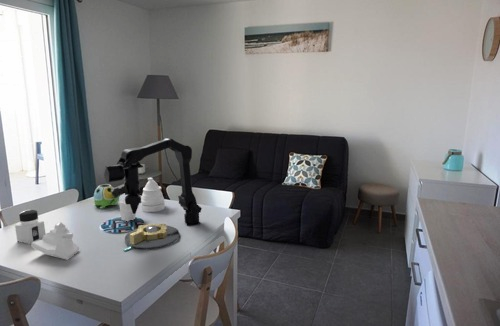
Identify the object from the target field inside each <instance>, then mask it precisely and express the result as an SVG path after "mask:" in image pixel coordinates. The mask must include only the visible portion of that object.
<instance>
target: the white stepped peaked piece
mask: <svg viewBox="0 0 500 326" xmlns="http://www.w3.org/2000/svg"><path fill="white" fill-rule="evenodd" d="M73 237H74V234H73V233H71V232H70V230H69V229H68V227H67V226H66V225H65V224H64V223H63V222H61V221H60V222H59V223H56V224H55V226H53V227H52V228H51V229H50V230H49V232H46V233H45V235H44V236H43V238H42V239H40V240H38V241H35V242H32V243H31V244H30V248H33V249H34V250H36V251H39V252H41V253H42V254H45V255H46V256H52V257H54V258H55V257H56V258H58V259H61V260H67V261H68V259H69V258H70V259H71V258H72V257H73V256H75V255H76V254H77V253H78V252H79V251H80V246H79V245H77V244H76V243H74V241H73ZM74 254H75V255H74ZM70 259H69V260H70Z"/></svg>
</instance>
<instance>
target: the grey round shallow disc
mask: <svg viewBox="0 0 500 326" xmlns="http://www.w3.org/2000/svg"><path fill="white" fill-rule="evenodd" d="M166 228H167V237H165V238H160V239H159V238H158V239H155V240H143V241H141V242H139V243H137V244H135V245H134V244H130V234H131V233H134V232H136V231H137V229H138V227H137V228H136V229H133V230H131V231H129V232H128V233H126V235H125V237H124V242H125V245H126V246H127V247H126V248H124V249H123V252H125V253H127V252H128V251H130V250H132V249H134V250H146V251H147V250H148V251H149V250H155V249H160V248H164V247H168V246H170V245H172V244H174V243H175V242H177V241H178V239H179V237H180V232H179V229H177V228H176V227H174V226H172V225H171V226H170V225H167V224H166ZM157 231H158V226H156V225H151V226H147V227H146V232H147V233H151V232H157Z"/></svg>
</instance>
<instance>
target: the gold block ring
mask: <svg viewBox="0 0 500 326" xmlns="http://www.w3.org/2000/svg"><path fill="white" fill-rule="evenodd" d="M151 225H156V226H158V231H157V232H151V233H147V232H146V227H147V226H151ZM166 225H167V224H166V223H164V222H161V223H150V224H149V223H148V224H145V225H142V224H141V225H138V226H137V228H138V229H137V228H136V229H137V231H136V232H134V233H131V234H130V244H134V245H135V244H137V243H139V242H141V241H143V240H155V239H158V238H159V239H160V238H165V237H167V228H166Z"/></svg>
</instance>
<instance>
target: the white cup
mask: <svg viewBox="0 0 500 326" xmlns="http://www.w3.org/2000/svg"><path fill="white" fill-rule="evenodd" d="M118 205H119V212H120V216H121V217H120V218H121V221H122V220H132V219H135V220H136V218H137V217H136V214H137V212H136V213H135V214H133V212H132V209H131V206H130V204H125V198H122V199H119V202H118Z"/></svg>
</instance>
